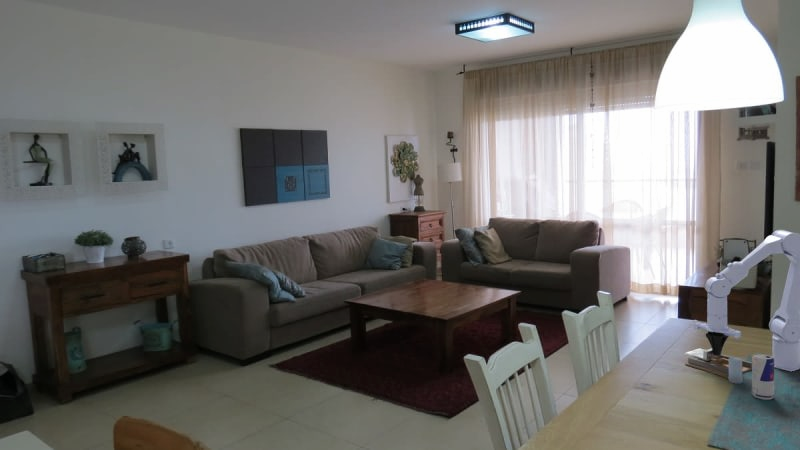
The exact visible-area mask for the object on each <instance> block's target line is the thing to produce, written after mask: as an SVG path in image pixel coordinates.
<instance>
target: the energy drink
mask: <svg viewBox="0 0 800 450" xmlns="http://www.w3.org/2000/svg"><path fill="white" fill-rule="evenodd" d="M751 362H752V370H751V395H752V396H753V397H754V398H756V399H759V400H763V401H770V400H772V399H774V398H775V367H774V358H773V356H772V355H771V354H769V353H764V352H759V353H758V352H757V353H753V355H752V357H751Z"/></svg>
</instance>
